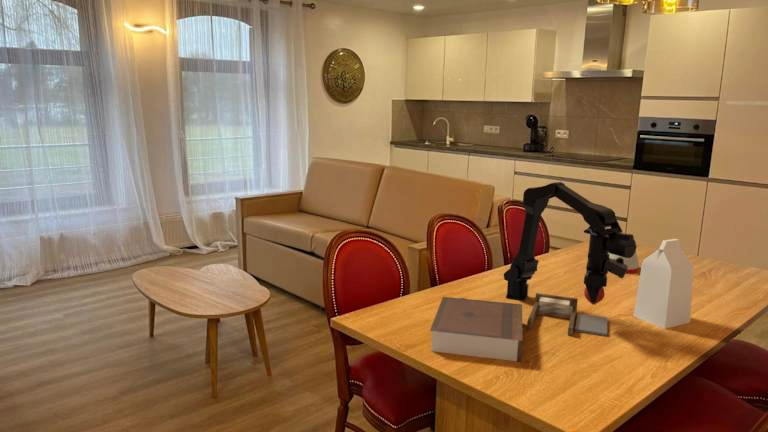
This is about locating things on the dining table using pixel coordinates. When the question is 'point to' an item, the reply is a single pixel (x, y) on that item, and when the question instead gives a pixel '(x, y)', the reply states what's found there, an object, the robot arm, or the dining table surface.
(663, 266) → the milk
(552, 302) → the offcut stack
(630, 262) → the knit hat
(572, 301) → the rack
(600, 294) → the onion
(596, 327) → the slate board
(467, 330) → the book
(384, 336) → the dining table surface
